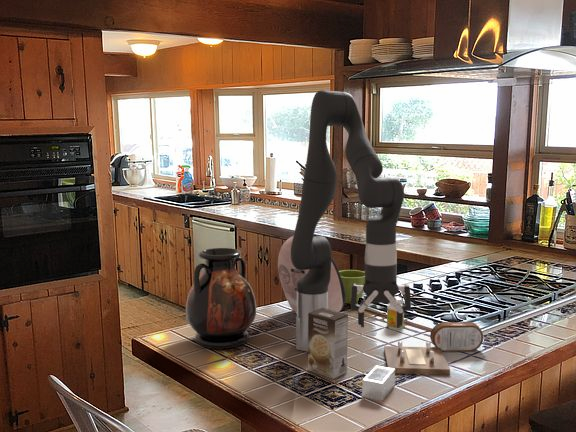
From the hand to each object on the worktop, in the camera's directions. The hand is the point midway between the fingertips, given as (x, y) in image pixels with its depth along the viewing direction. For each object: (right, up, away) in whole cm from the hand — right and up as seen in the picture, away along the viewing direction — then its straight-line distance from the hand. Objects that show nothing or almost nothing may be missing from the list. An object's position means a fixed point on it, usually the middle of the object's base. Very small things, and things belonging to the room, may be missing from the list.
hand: (380, 326), depth 142 cm
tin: (+27, -13, +29) cm, 41 cm away
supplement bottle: (+13, -10, +50) cm, 52 cm away
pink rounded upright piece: (-14, -8, +60) cm, 63 cm away
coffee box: (-12, -15, +14) cm, 24 cm away
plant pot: (+1, -6, +78) cm, 78 cm away
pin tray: (+13, -14, +20) cm, 27 cm away
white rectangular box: (0, -16, +2) cm, 17 cm away
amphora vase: (-43, -12, +38) cm, 58 cm away
